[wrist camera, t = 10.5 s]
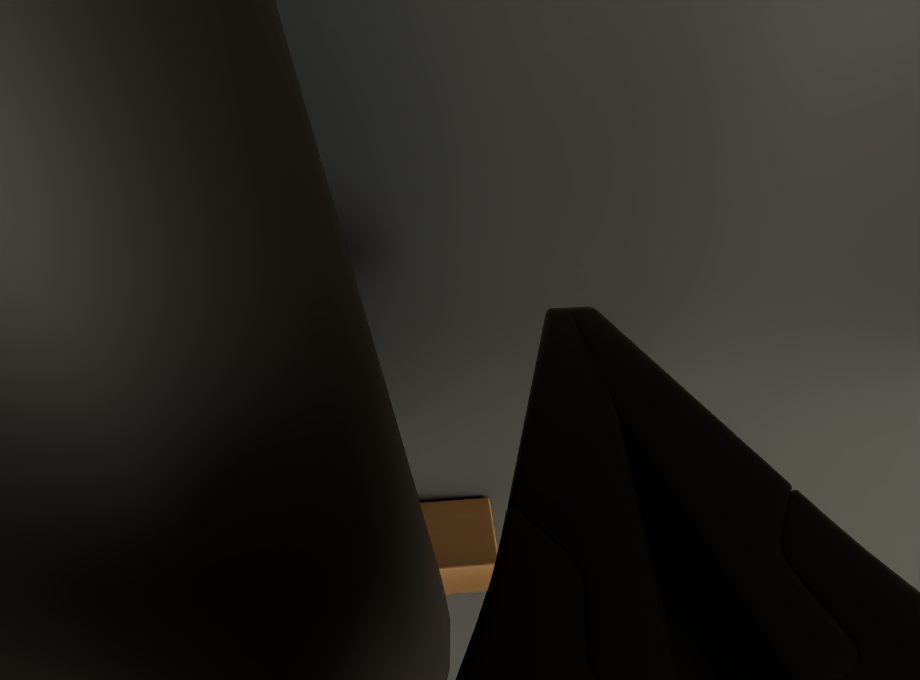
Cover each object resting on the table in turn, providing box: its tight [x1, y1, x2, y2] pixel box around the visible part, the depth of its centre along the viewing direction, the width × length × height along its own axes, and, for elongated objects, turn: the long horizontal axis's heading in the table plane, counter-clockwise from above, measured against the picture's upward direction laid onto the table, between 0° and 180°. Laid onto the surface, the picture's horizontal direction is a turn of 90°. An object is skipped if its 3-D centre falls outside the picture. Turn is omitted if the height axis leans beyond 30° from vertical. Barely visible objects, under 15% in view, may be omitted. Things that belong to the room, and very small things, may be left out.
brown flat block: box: [420, 498, 498, 595], centre depth 9 cm, size 14×12×2 cm
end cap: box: [0, 0, 450, 680], centre depth 7 cm, size 10×7×7 cm
